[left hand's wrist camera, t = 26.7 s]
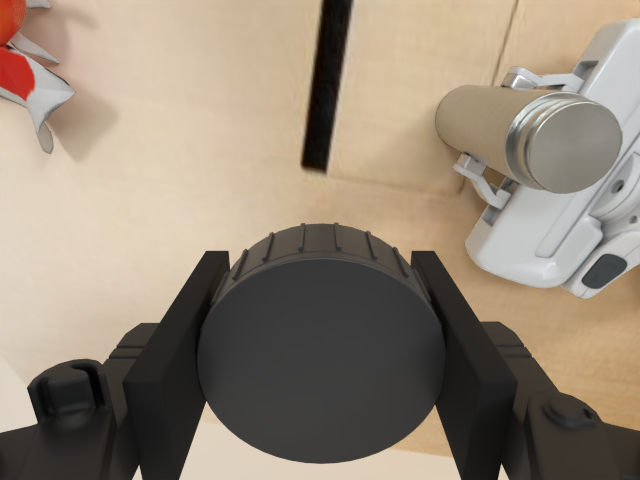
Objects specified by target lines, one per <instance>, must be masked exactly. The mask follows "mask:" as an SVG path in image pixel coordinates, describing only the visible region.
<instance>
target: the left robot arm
mask: <svg viewBox="0 0 640 480" xmlns="http://www.w3.org/2000/svg"><path fill="white" fill-rule="evenodd" d="M410 267H411V268H412V270H413V269H416V271H417V273H418V275H419V277H420V279H421V281H422V283H423V285H424V287H425V289H426V291H427V293H428V295H429V297H430V299H431V304H432V306H433V308H434V310H435V312H436V314H437V316H438V318H439V320H440V322H441V324H442V326H443V329H442V332H443V336H444V339H445V343H446V360H445V368H444V375H443V383H442V390H441V393H440V396H439V398H438V400H437V402H436V403H435V405H436V408H437V411H438V414H439V417H440V420H441V423H442V425H443V428H444V431H445V434H446V437H447V440H448V443H449V446H450V448H451V451H452V454H453V457H454V460H455V463H456V466H457V469H458V471H459V474H460V477H461V480H498V476H499V471H500V466H501V463H502V465H503V467H504V470H505V472H506V474H507V476H508V478H509V480H640V431H637V430H633V429H628V428H624V427H619V426H615V425H611V424H608V423H604V422H602V420H601V419H600V417H599V416H598V414H597V413H596V412H595V411H594V410H593V409H592V408H591V407H589V406H588V405H587V404H586V403H584V402H583V401H581V400H579V399H577V398H575V397H573V396H571V395H567V394H564V393H561V392H559V391H558V389H557V388H556V387H555V385H554V384H553V383H552V381H551V380H550V379H549V377H548V376H547V375H546V373H545V372H544V371H543V369H542V368H541V367H540V365H539V364H538V363H537V361H536V360H535V359H534V358H532V355H531V353H530V352H529V351H528V349H527V348H526V347H524V344H523V343H522V341H521V340H520V339H519V337H518V336H517V335H516V333H515V332H513V331H512V330H510V329H509V328H508V327H506V326H505V325H503V324H502V323H500V322H480V321H479V320H478V318H477V317H476V315H475V314H474V312H473V311H472V309H471V307H470V306H469V304H468V303H467V301H466V300H465V298H464V297H463V295H462V293H461V292H460V290H459V289H458V287H457V286H456V284H455V283H454V281H453V280H452V278H451V276H450V275H449V273H448V272H447V270H446V269H445V267H444V266H443V264H442V262H441V261H440V259H439V258H438V256H437V255H436V253H435V252H434V251H412V254H411V266H410ZM226 271H227V272H230V263H229V251H206V252H205V254H204V255H203V257H202V258H201V260H200V261H199V263H198V264H197V266H196V268H195V269H194V271H193V272H192V274H191V275H190V277H189V278H188V280H187V281H186V283H185V285H184V286H183V288H182V289H181V291H180V292H179V294H178V295H177V297H176V299H175V300H174V302H173V303H172V305H171V306H170V308H169V309H168V311H167V313H166V314H165V316H164V317H163V319H162V320H161V322H160V323H141V324H139V325H138V326H136V327H135V328H133V329H132V330H130V331H129V332H128V333H126V334H125V336H124V337H123V338H122V340H121V341H120V342H119V344H118V345H117V348H116V349H114V350H113V352H112V353H111V354H110V356H109V359H107V360H106V361H105V362H104V364H103V365H102V364H101V363H100V362H98V361H96V360H91V359H77V360H71V361H67V362H64V363H60V364H58V365H55V366H53V367H51V368H49V369H47V370H45V371H44V372H42V373H41V374H40V375H38V376H37V377H36V378H34V379H33V381H32V382H31V383H30V385H29V386H28V387H27V390H28V393H29V396H30V399H31V402H32V405H33V409H34V412H35V415H36V418H37V421H38V423H37V424H35V425H32V426H29V427H24V428H20V429H15V430H11V431H7V432H2V433H0V480H132V479H133V477H134V474H135V472H136V470H137V468H138V466H139V465H140V470H141V475H142V479H143V480H179V478H180V475H181V472H182V469H183V466H184V463H185V461H186V458H187V455H188V452H189V449H190V446H191V443H192V441H193V438H194V435H195V432H196V429H197V426H198V423H199V420H200V418H201V415H202V412H203V409H204V406H205V403H206V399H205V397H204V394H203V391H202V389H201V386H200V383H199V378H198V373H197V348H198V342H199V338H200V335H201V334H200V330H201V327H202V325H203V323H204V321H205V319H206V317H207V315H208V312H209V310H210V308H211V306H212V305H211V302H212V300H213V297H214V295H215V293H216V291H217V289H218V287H219V285H220V283H221V281H222V279H223V277H224V274H225V273H226Z"/></svg>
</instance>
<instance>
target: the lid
mask: <svg viewBox="0 0 640 480" xmlns="http://www.w3.org/2000/svg"><path fill="white" fill-rule="evenodd" d="M211 305H212V306H211V308H210V310H209V312H208V315H207V317H206V319H205V321H204V323H203V325H202V327H201V330H200V334H201V335H200V338H199V342H198V348H197V373H198V378H199V383H200V386H201V389H202V391H203V394H204V397H205V399H206V401H207V402H208V404H209V406H210V408H211V409H212V411H213V412H214V414H215V415H216V416H217V418H218V419H219V420H220V421H221V422H222V423H223V424H224V425H225V426H226V427H227V428H228V429H229V430H230V431H231V432H232V433H233V434H235V435H236V436H237V437H238V438H240V439H241V440H243V441H244V442H246V443H248V444H249V445H251V446H253V447H255V448H257V449H259V450H261V451H263V452H265V453H268V454H270V455H273V456H276V457H279V458H283V459H287V460H291V461H297V462H303V463H317V464H326V463H340V462H347V461H352V460H356V459H360V458H364V457H367V456H370V455H373V454H376V453H378V452H381V451H383V450H385V449H387V448H389V447H391V446H393V445H394V444H396V443H398V442H399V441H401V440H402V439H404V438H405V437H406V436H408V435H409V434H410V433H411V432H413V431H414V430H415V429H416V428H417V427H418V426H419V425H420V424H421V423H422V422H423V421H424V420H425V418H426V417H427V416H428V414H429V413H430V412H431V410H432V409H433V407H434V405H435V403H436V402H437V400H438V398H439V396H440V393H441V390H442V383H443V375H444V368H445V360H446V343H445V339H444V336H443V332H442V329H443V326H442V324H441V322H440V320H439V318H438V316H437V314H436V312H435V310H434V308H433V306H432V304H431V299H430V297H429V295H428V293H427V291H426V289H425V287H424V285H423V283H422V281H421V279H420V277H419V275H418V273H417V271H416V269H413V270H412V268H411V267H410V265H409V264H408V263H407V262H406V260H405V259H404V258H403V257H402V256H401V255H400V254H399V251H398V249H397V248H396V247H395V246H394V247H393V248H392V247H391V246H390V245H388V244H387V243H385V242H384V241H382V240H381V239H379V238H377V237H375V236H373V235H371V233H370V232H369V231H366V232H364V231H361V230H358V229H355V228H352V227H347V226H342V225H339V224H338V223H334V224H307V225H305V223H302V224H301V226H296V227H292V228H288V229H285V230H282V231H279V232H277V233H275V234H274V233H273V232H272V233H270V234H269V236H268V237H266V238H264V239H263V240H261V241H260V242H258V243H256V244H255V245H253V246H252V247H251V248H250V249H249V250H247V249H245V250H244V251H243V253H242V255H241V257H240V258H239V260H238V261H237V262H236V263H235V264H234V266H233V267H232V269H231V270H230V272H227V271H226V273H225V274H224V277H223V279H222V281H221V283H220V285H219V287H218V289H217V291H216V293H215V295H214V297H213V300H212V302H211Z"/></svg>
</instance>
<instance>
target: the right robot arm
mask: <svg viewBox="0 0 640 480" xmlns="http://www.w3.org/2000/svg"><path fill="white" fill-rule="evenodd" d="M538 86H548V88H547V90H558V91H570V92H575V93H578V94H580V95H583V96H584V97H586V98H588V99H589V100H592V101H595V102H598V103H599V104H601V105H603V106H605V107H606V108H608V109H609V110H610V111H611V112H612V113H613V114H614V116H615V117H616V119H617V120H618V123H619V125H620V129H621V131H623V144H622V146H621V150H620V154H619V157H617V159H616V161H615V163H614V165H613V167H612V168H611V169H610V170H609V171H608V172H607V174H606V175H605V176H604V177H603V178H601V179H600V180H599V181H598V182H596V183H595V184H594V185H592V186H590V187H588V188H586V189H584V190H582V191H580V192H579V191H578V192H574V193H569V194H555V193H552V192H548V191H545V190H535V189H531V188H528V187H526V186H524V185H522V184H520V183H518V182H516V181H514V180H513V179H511V178H509V177H507V176H506V177H505V178H504V180H503V182H502V183H501V185H500V186H499V187H498V186H496V185H494V184H492V183H489V184H488V183H487V182H486V180H485V178H484V177H483V175H482V174H483V172H484V170H485V169H486V167H487V165H485V164H483V163H481V162H479V161H477V160H475V159H474V158H472V157H471V156H469V155H467V154H465V153H463V152H462V153H461V155H460V157H459V158H458V160H457V162H456V163H455V165H454V167H453V170H455V171H456V172H458V173H460V174H462V175H464V176H466V177H468V178H469V179H470V181H471V182H472V184H473V186H474V188H475V189H476V191H477V193H478V195H479V196H480V197H481V198H482V199H483V200H485V201H486V202H487V203H489V204H488V205H487V207H486V209H485V210H484V212H483V213H482V215H481V216H480V218H479V220H478V221H477V223H476V224H475V226H474V228H473V229H472V231H471V232H470V234H469V235H468V237H467V239H466V240H465V247H466V250H467V253H468V255H469V257H470V258H471V259H472V261H473V262H474V263H475V264H476V265H477V266H478V267H480V268H481V269H483V270H485V271H487V272H489V273H491V274H494V275H496V276H499V277H502V278H504V279H507V280H510V281H513V282H516V283H519V284H523V285H527V286H530V287H535V288H553V287H556V286H560V287H562V288H563V289H564V290H566V291H568V292H569V293H571V294H573V295H575V296H576V297H579V298H582V299H588V298H591V297H593V296H594V295H596V294H597V293H599V292H600V291H601V290H603V289H604V288H605V287H606V286H608V285H609V284H611V283H612V282H613V281H615V280H616V279H617V278H619V277H620V276H622V275H623V274H625V273H626V272H627V271H629V270H631V269H632V268H634V267H635V266H637V265H639V264H640V17H634V18H627V19H622V20H619V21H615V22H612V23H609V24H606V25H604V26H602V27H600V28H599V30H598V31H597V32H596V34H595V35H594V37H593V39H592V40H591V42H590V43H589V45H588V47H587V48H586V50H585V51H584V53H583V54H582V56H581V58H580V59H579V61H578V62H577V64H576V66H575V67H574V69H573V70H572V72H571V73H558V74H546V75H535V74H534V73H532V72H530V71H528V70H526V69H524V68H522V67H518V66H514V67H511V68H510V70H509V72H508V73H507V75H506V77H505V79H504V80H503V82H502V84H501V87H508V88H525V89H534V88H535V87H538Z"/></svg>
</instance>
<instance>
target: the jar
mask: <svg viewBox="0 0 640 480" xmlns="http://www.w3.org/2000/svg"><path fill="white" fill-rule="evenodd" d="M436 129H437V132H438V134H439V136H440V137H441V139H442V140H443V141H444V142H445V143H446V144H448V145H449V146H451V147H453V148H455V149H457V150H459V151H461V152H463V153H465V154H467V155H469V156H471V157H472V158H474V159H475V160H477V161H479V162H481V163H483V164H485V165H487V166H488V167H490V168H492V169H494V170H496V171H498V172H500V173H501V174H503V175H505V176H507V177H509V178H511V179H513V180H514V181H516V182H518V183H520V184H522V185H524V186H526V187H528V188H531V189H535V190H545V191H548V192H552V193H555V194H569V193H574V192H578V191H579V192H580V191H582V190H584V189H586V188H588V187H590V186H592V185H594V184H595V183H596V182H598V181H599V180H600V179H601V178H603V177H604V176H605V175H606V174H607V172H608V171H609V170H610V169H611V168H612V167H613V165H614V163H615V161H616V159H617V157H619V154H620V150H621V146H622V144H623V131H621V129H620V125H619V123H618V120H617V119H616V117H615V116H614V114H613V113H612V112H611V111H610V110H609V109H608V108H606V107H605V106H603V105H601V104H599V103H598V102H595V101H592V100H589V99H588V98H586V97H584V96H583V95H580V94H578V93H575V92H570V91H558V90H541V89H525V88H508V87H492V86H475V85H467V86H462V87H459V88H456V89H454V90H453V91H451V92H450V93H449V94H447V95H446V97H445V98H444V99H443V100H442V102H441V103H440V105H439V107H438V110H437V113H436Z"/></svg>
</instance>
